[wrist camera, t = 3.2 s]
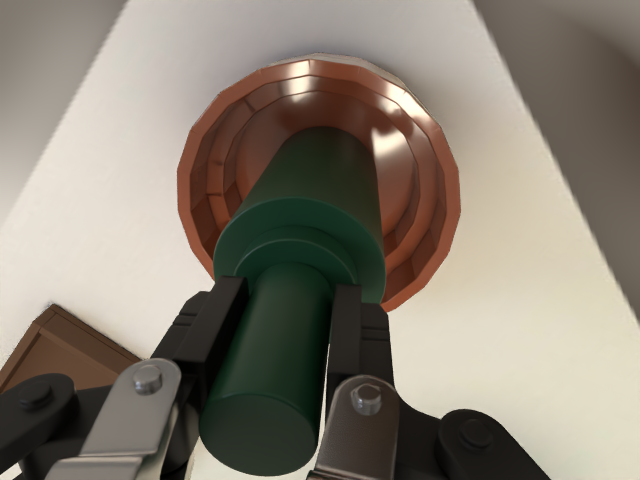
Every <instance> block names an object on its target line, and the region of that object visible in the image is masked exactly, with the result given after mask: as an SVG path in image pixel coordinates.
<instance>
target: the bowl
mask: <svg viewBox="0 0 640 480" xmlns="http://www.w3.org/2000/svg"><path fill="white" fill-rule="evenodd" d="M317 126H327V127H334V128H338V129H341V130H344V131H346V132H348V133H350V134H352V135H353V136H355V137H356V138H357V139H359V140H360V141H361V142H362V143H363V144H364V145H365V147H366V148H367V149H368V151H369V152H370V154H371V156H372V158H373V160H374V163H375V167H376V171H377V181H378V191H379V202H380V212H381V223H382V233H383V244H384V254H385V265H386V286H385V291H384V295H383V298H382V301H381V303H380V305H381V306H382V308H383V309H384V311H385V312H386V313H387V312H390V311H392V310H394V309H396V308H397V307H399V306H400V305H401V304H403V303H404V302H405V301H407V300H408V299H409V298H411V297H412V296H413V295H415V294H416V293H417V292H419V291H420V290H421V289H423V288H424V287H425V285H427V283H428V282H429V280H430V279H431V278H432V276H433V275H434V273H435V272H436V271H437V269H438V268H439V266H440V265H441V263H442V262H443V261H444V259H445V258H446V256H447V255H448V253H449V251H450V248H451V244H452V241H453V238H454V234H455V231H456V228H457V224H458V221H459V218H460V213H461V205H460V186H459V170H458V167H457V164H456V162H455V160H454V157H453V155H452V153H451V150H450V148H449V145H448V143H447V141H446V138H445V136H444V134H443V131H442V129H441V127H440V125H439V124H438V123H437V121H436V120H435V119H434V118H433V116H432V115H431V114H430V112H429V111H428V110H427V109H426V107H425V106H424V105H423V104H422V103H421V102H420V101H419V100H418V98H417V97H416V96H415V95H414V94H413V93H412V92H411V91H410V90H409V89H408V88H407V87H406V85H405V84H404V83H403V82H402V81H401V80H400V79H399V78H397V77H396V76H394V75H392V74H391V73H389V72H387V71H385V70H383V69H381V68H379V67H377V66H375V65H373V64H372V63H370V62H368V61H366V60H364V59H360V58H357V57H350V56H343V55H336V54H329V53H319V52H318V53H313V54H308V55H303V56H298V57H293V58H288V59H283V60H280V61H277V62H275V63H272V64H270V65H267V66H265V67H262V68H260V69H258V70H256V71H255V72H253V73H251V74H250V75H248V76H246V77H245V78H243V79H241V80H240V81H238V82H236V83H235V84H233V85H231V86H230V87H228V88H227V89H225V90H223V91H222V92H220V93H219V94H218V95H217V96H216V97H215V99H214V100H213V101H212V102H211V104H210V105H209V106H208V107H207V109H206V110H205V111H204V112H203V114H202V115H201V116H200V118H199V119H198V120H197V121H196V123H195V124H194V125H193V126H192V128H191V130H190V132H189V135H188V138H187V141H186V144H185V147H184V150H183V153H182V156H181V159H180V162H179V165H178V168H177V195H178V213H179V216H180V219H181V222H182V225H183V228H184V230H185V233H186V236H187V239H188V242H189V245H190V248H191V249H192V251H193V253H194V254H195V256H196V257H197V258H198V260H199V261H200V262H201V264H202V265H203V267H204V268H205V269H206V271H207V272H208V273H209V275H210V276H211V277H212V279H213V280H214V281H215V279H214V274H213V257H214V251H215V248H216V244H217V241H218V239H219V237H220V235H221V233H222V232H223V230H224V229H225V227H226V226H227V224H228V223H229V221H230V220H231V218H232V217H233V215H234V214H235V212H236V211H237V209H238V208H239V207H240V205H241V204H242V202H243V201H244V199H245V198H246V196H247V195H248V193H249V192H250V190H251V189H252V188H253V186H254V185H255V183H256V182H257V180H258V179H259V177H260V176H261V174H262V173H263V171H264V170H265V169H266V167H267V166H268V164H269V163H270V161H271V160H272V158H273V157H274V155H275V154H276V152H277V151H278V150H279V148H280V147H281V145H282V144H283V143H284V142H285V141H286V140H287V139H288V138H290V137H291V136H292V135H294V134H296V133H297V132H299V131H302V130H304V129H307V128H311V127H317Z"/></svg>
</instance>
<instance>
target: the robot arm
mask: <svg viewBox="0 0 640 480" xmlns="http://www.w3.org/2000/svg"><path fill="white" fill-rule="evenodd" d="M248 299H249V287H248V279H247V277H240V276H226V275H220V276H219V278H218V279H217V281H216V283H215V285H214V286H213V288H212V290H211V291H210V292H207V291H200V292H198V293H197V294H196V295H194V296H193V297H192V298H190V299H189V300H187V301H186V303H185V304H184V306H183V307H182V309H181V311H180V312H179V315H177V317H176V318H175V320H174V322H173V325H171V326H170V328H169V329H168V331H167V332H166V334H165V336H164V337H163V339H162V340H161V342H160V343H159V345H158V346H157V348H156V350H155V351H154V353H153V354H152V356H151V357H150V359H146V360H143V361H140V362H137V363H135V364H133V365H131V366H129V367H128V368H126V369H125V370H124V371H123V372H122V373H121V374H120V375H119V376H118V377H117V379H116V381H115V383H114V384H111V385H106V386H101V387H94V388H88V389H82V390H76V388H75V385H74V382H73V380H72V379H71V378H70V377H69V376H67V375H65V374H61V373H47V374H42V375H37V376H34V377H32V378H29V379H27V380H24V381H23V382H21V383H19V384H17V385H16V386H14V387H12V388H10V389H9V390H7V391H5V392H4V393H2V394H0V475H1V474H2V473H3V472H5V471H6V470H8V469H9V468H10V467H12V466H13V465H14V464H16V463H17V462H18V464H19V466H20V469H21V471H22V473H21V474H19V475H18V476H17V477H15V478H14V479H13V480H190V478H191V473H192V469H193V465H194V452H193V450H194V447H195V445H196V442H197V440H198V437H199V435H200V434H199V425H198V423H199V417H200V414H201V412H202V409H203V407H204V404H205V402H206V400H207V397H208V395H209V393H210V390H211V388H212V385H213V383H214V381H215V378H216V376H217V373H218V371H219V369H220V366H221V364H222V361H223V359H224V357H225V354H226V352H227V350H228V347H229V345H230V342H231V340H232V338H233V335H234V333H235V330H236V328H237V326H238V323H239V321H240V319H241V316H242V314H243V311H244V309H245V307H246V304H247V302H248ZM306 480H551V479H550V478H549V477H548V476H547V475H546V473H545V472H544V471H543V470H542V469H541V468H540V467H539V466H538V465H537V464H536V462H535V461H534V460H533V459H532V458H531V457H530V456H529V455H528V454H527V452H526V451H525V450H524V449H523V448H522V447H521V446H520V445H519V444H518V442H517V441H516V440H515V439H514V438H513V437H512V436H511V435H510V434H509V433H508V431H507V430H506V429H505V428H504V427H503V426H502V425H501V424H500V423H499V422H497V421H496V420H495V419H493V418H492V417H490V416H488V415H486V414H484V413H482V412H478V411H475V410H470V409H458V410H454V411H451V412H449V413H447V414H446V415H445V416H444V417H443V418H442V419H438V418H435V417H433V416H430V415H427V414H424V413H422V412H419V411H417V410H415V409H414V408H412V407H411V406H409V405H408V404H407V403H406V402H404V401H403V400H402V398H401V397H400V396H399V394H398V393H397V391H396V389H395V385H394V377H393V366H392V355H391V343H390V332H389V320H388V315H387V313H386V312H385V311H384V309H383V308H382V306H381V305H380V304H376V303H362V285H358V284H343V283H336V290H335V299H334V309H333V319H332V328H331V338H330V348H329V357H328V367H327V384H326V409H325V431H324V434H323V438H322V442H321V446H320V449H319V453H318V457H317V461H316V464H315V467H314V470H310V471H309V473H308V475H307V478H306Z"/></svg>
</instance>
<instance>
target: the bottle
mask: <svg viewBox="0 0 640 480" xmlns="http://www.w3.org/2000/svg"><path fill="white" fill-rule="evenodd" d="M213 274H214V279H215V283H216V281H217V279H218V278H219V276H220V275H226V276H240V277H247V279H248V287H249V299H248V302H247V304H246V307H245V309H244V311H243V314H242V316H241V319H240V321H239V323H238V326H237V328H236V330H235V333H234V335H233V338H232V340H231V342H230V345H229V347H228V350H227V352H226V354H225V357H224V359H223V361H222V364H221V366H220V369H219V371H218V373H217V376H216V378H215V381H214V383H213V385H212V388H211V390H210V393H209V395H208V397H207V400H206V402H205V404H204V407H203V409H202V412H201V414H200V417H199V423H198V425H199V434H200V438H201V440H202V442H203V444H204V446H205V447H206V449H207V450H208V451H209V452H210V453H211V454H212V455H213V456H214V457H215V458H216V459H217V460H218V461H220V462H221V463H223V464H224V465H226V466H228V467H230V468H232V469H234V470H237V471H239V472H242V473H246V474H250V475H256V476H280V475H285V474H289V473H291V472H294V471H296V470H298V469H300V468H302V467H303V466H305V465H306V464H307V463H308V462H309V461H310V460H311V458H312V457H313V455H314V454H315V452H316V449H317V446H318V439H319V430H320V421H321V411H322V402H323V393H324V383H325V374H326V365H327V356H328V346H329V344H330V338H331V328H332V319H333V309H334V299H335V290H336V283H343V284H358V285H362V303H376V304H380V303H381V301H382V298H383V295H384V291H385V286H386V265H385V254H384V244H383V233H382V223H381V212H380V202H379V191H378V181H377V171H376V167H375V163H374V160H373V158H372V156H371V154H370V152H369V151H368V149H367V148H366V147H365V145H364V144H363V143H362V142H361V141H360V140H359V139H357V138H356V137H355V136H353V135H352V134H350V133H348V132H346V131H344V130H341V129H338V128H334V127H327V126H317V127H311V128H307V129H304V130H302V131H299V132H297V133H296V134H294V135H292V136H291V137H290V138H288V139H287V140H286V141H285V142H284V143H283V144H282V145H281V147H280V148H279V150H278V151H277V152H276V154H275V155H274V157H273V158H272V160H271V161H270V163H269V164H268V166H267V167H266V169H265V170H264V171H263V173H262V174H261V176H260V177H259V179H258V180H257V182H256V183H255V185H254V186H253V188H252V189H251V190H250V192H249V193H248V195H247V196H246V198H245V199H244V201H243V202H242V204H241V205H240V207H239V208H238V209H237V211H236V212H235V214H234V215H233V217H232V218H231V220H230V221H229V223H228V224H227V226H226V227H225V229H224V230H223V232H222V233H221V235H220V237H219V239H218V241H217V244H216V248H215V251H214V257H213Z"/></svg>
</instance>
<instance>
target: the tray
mask: <svg viewBox="0 0 640 480" xmlns="http://www.w3.org/2000/svg"><path fill="white" fill-rule="evenodd" d="M140 361H142V360H140V359H139V358H137V357H135V356H134V355H132V354H131V353H129V352H128V351H126V350H125V349H123V348H121V347H120V346H118V345H117V344H115V343H114V342H112V341H111V340H109V339H107V338H106V337H104V336H103V335H101V334H100V333H98V332H97V331H95V330H93V329H92V328H90V327H89V326H87V325H86V324H84V323H83V322H81V321H79V320H78V319H76V318H75V317H73V316H72V315H70V314H69V313H67V312H65V311H64V310H62V309H61V308H59V307H58V306H56V305H55V304H52V305H51V306H50V307H49V308H48V309H46V310H45V311H44V312H43V313H42V314H41V315H40V316H39V317H38V318H36V319H35V320H34V321H33V322H32V324H31V325H30V327H29V328H28V330H27V331H26V333H25V334H24V336H23V337H22V339H21V340H20V342H19V343H18V345H17V347H16V348H15V350H14V351H13V353H12V354H11V356H10V357H9V359H8V360H7V362H6V363H5V365H4V366H3V368H2V369H1V371H0V394H2V393H4V392H5V391H7V390H9V389H10V388H12V387H14V386H16V385H17V384H19V383H21V382H23V381H24V380H27V379H29V378H32V377H34V376H37V375H42V374H47V373H61V374H65V375H67V376H69V377H70V378H71V379H72V380H73V382H74V385H75V388H76V390H82V389H88V388H94V387H101V386H106V385H111V384H114V383H115V381H116V379H117V377H118V376H119V375H120V374H121V373H122V372H123V371H124V370H125V369H126V368H128V367H129V366H131V365H133V364H135V363H137V362H140ZM199 436H200V435H199Z"/></svg>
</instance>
